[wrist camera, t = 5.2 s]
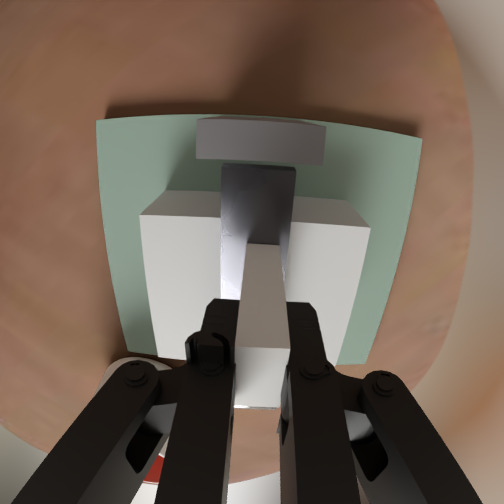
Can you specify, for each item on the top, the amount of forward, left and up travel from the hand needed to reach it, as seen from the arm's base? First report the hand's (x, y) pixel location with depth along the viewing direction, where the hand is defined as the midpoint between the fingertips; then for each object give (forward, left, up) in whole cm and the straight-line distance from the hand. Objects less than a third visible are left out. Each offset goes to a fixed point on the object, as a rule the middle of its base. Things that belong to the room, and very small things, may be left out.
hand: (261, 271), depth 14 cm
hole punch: (0, -3, -8) cm, 9 cm away
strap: (0, -4, -1) cm, 4 cm away
